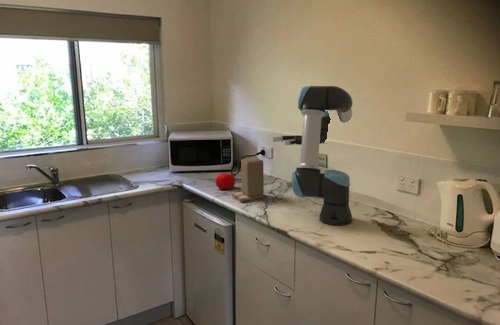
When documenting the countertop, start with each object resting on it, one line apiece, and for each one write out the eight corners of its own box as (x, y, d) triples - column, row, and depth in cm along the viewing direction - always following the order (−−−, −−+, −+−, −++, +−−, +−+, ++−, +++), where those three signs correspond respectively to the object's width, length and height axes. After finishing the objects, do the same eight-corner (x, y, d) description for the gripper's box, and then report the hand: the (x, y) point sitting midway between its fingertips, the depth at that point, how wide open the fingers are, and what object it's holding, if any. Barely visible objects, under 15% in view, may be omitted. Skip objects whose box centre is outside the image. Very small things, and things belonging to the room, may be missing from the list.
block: (247, 197, 214) (247, 162, 210) (241, 192, 223) (240, 158, 219) (264, 195, 218) (264, 160, 214) (257, 190, 227) (256, 157, 223)
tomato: (238, 189, 237) (237, 173, 235) (218, 191, 233) (217, 175, 231) (232, 185, 248) (231, 169, 246) (212, 187, 243) (212, 171, 241)
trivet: (264, 199, 216) (264, 196, 216) (241, 203, 211) (241, 199, 210) (253, 193, 229) (253, 189, 228) (232, 196, 223) (231, 193, 223)
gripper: (322, 147, 214) (289, 151, 205) (298, 141, 236) (267, 144, 227) (323, 134, 213) (290, 137, 204) (298, 129, 235) (267, 131, 226)
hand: (278, 141), depth 216 cm, fingers open, 13 cm apart
